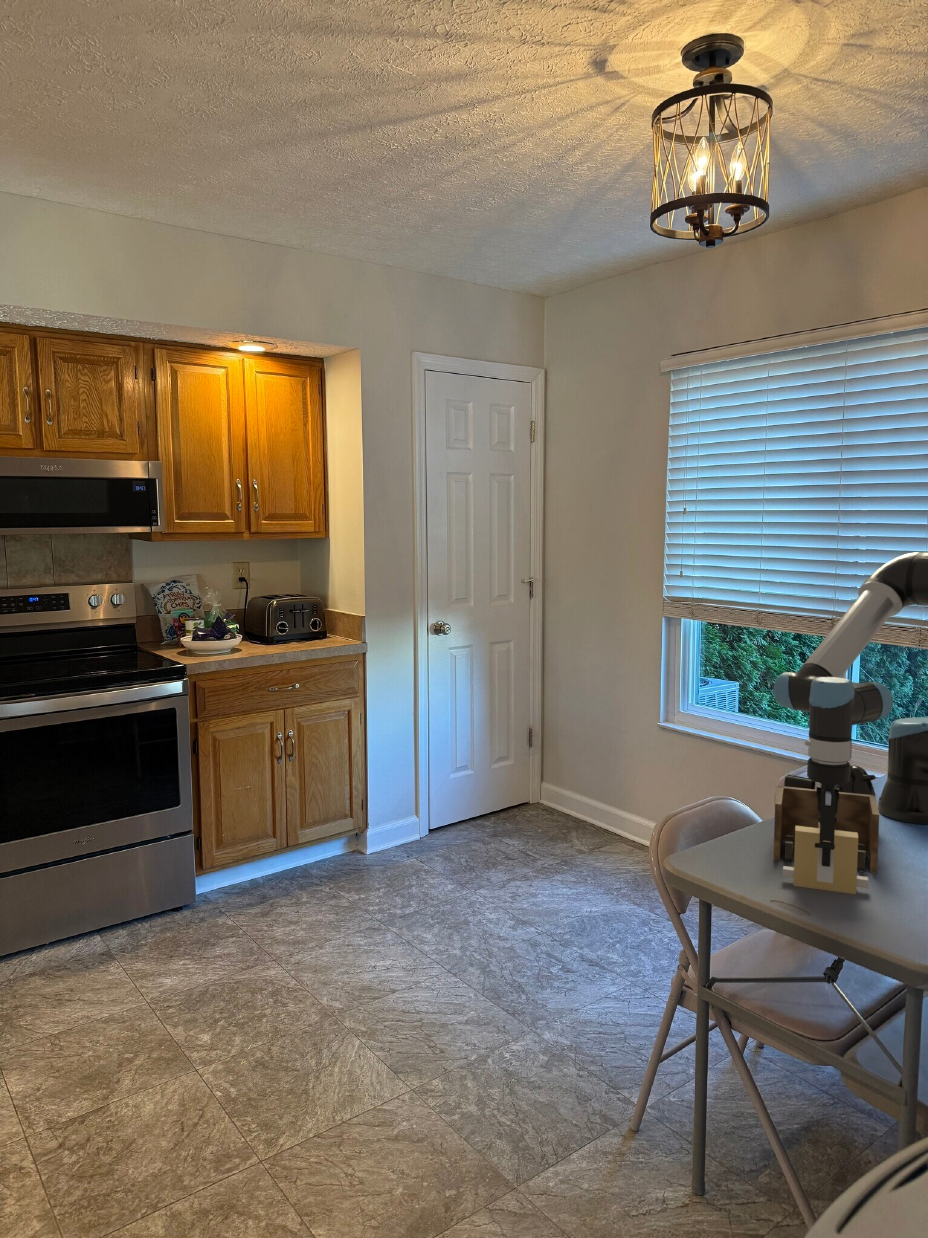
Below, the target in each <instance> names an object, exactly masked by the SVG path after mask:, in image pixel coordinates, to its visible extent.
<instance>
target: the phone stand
mask: <svg viewBox="0 0 928 1238" xmlns="http://www.w3.org/2000/svg"><path fill="white" fill-rule="evenodd" d="M783 786H784V787H795V788H805V789H815V782H814V781H812V780H810V779H809V778H808V777H803V776H797V775H792V774H787V775H785V776H784V785H783Z"/></svg>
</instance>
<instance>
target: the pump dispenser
mask: <svg viewBox="0 0 928 1238" xmlns="http://www.w3.org/2000/svg"><path fill="white" fill-rule="evenodd" d="M875 779H876V775H875V774H868V773H867V771H866V770H865V768H863V767H861V766H859V765H855V764H854V765H853V764H851V767H850V781H849V782H848V783H846V784H841V785H840V784H837V785H835V789H839V792H845V793H855V794H865V795H875V796H877V795H876V792H875V788H874V786H873V782H872V780H875ZM876 801H877V799H876ZM877 802H878V801H877Z"/></svg>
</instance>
